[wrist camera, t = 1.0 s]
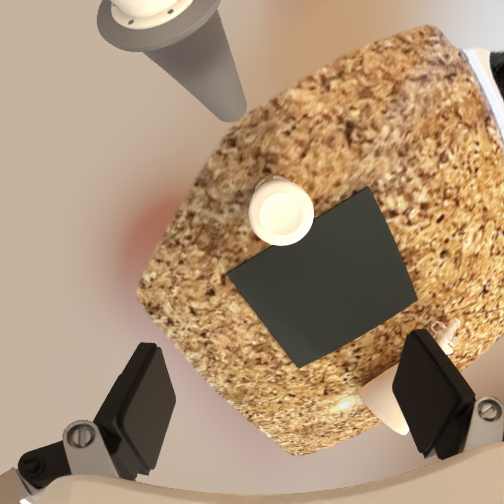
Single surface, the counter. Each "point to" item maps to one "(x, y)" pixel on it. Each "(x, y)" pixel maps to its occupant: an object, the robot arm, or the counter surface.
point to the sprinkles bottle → (280, 211)
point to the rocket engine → (380, 388)
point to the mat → (328, 281)
